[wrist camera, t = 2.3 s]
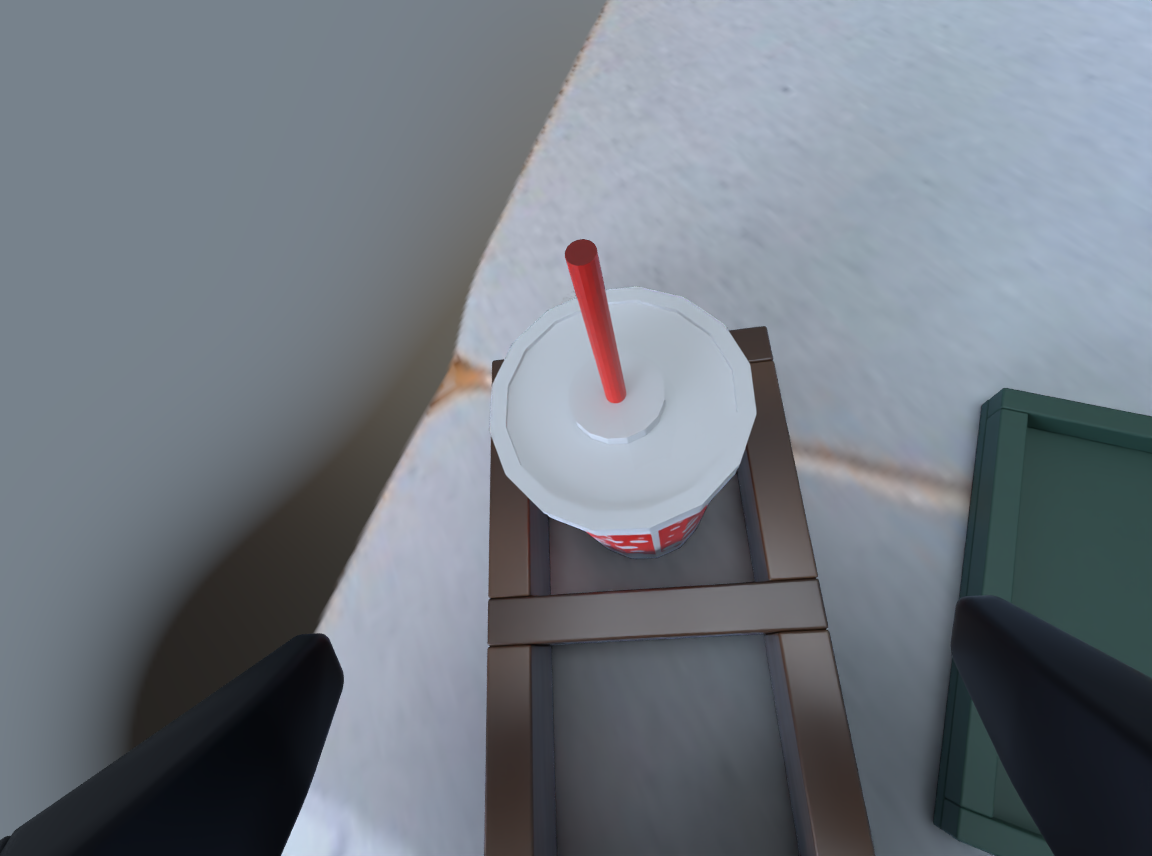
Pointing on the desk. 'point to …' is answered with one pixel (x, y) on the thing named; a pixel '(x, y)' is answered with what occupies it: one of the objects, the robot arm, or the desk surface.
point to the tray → (1048, 574)
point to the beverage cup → (623, 411)
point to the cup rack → (767, 606)
